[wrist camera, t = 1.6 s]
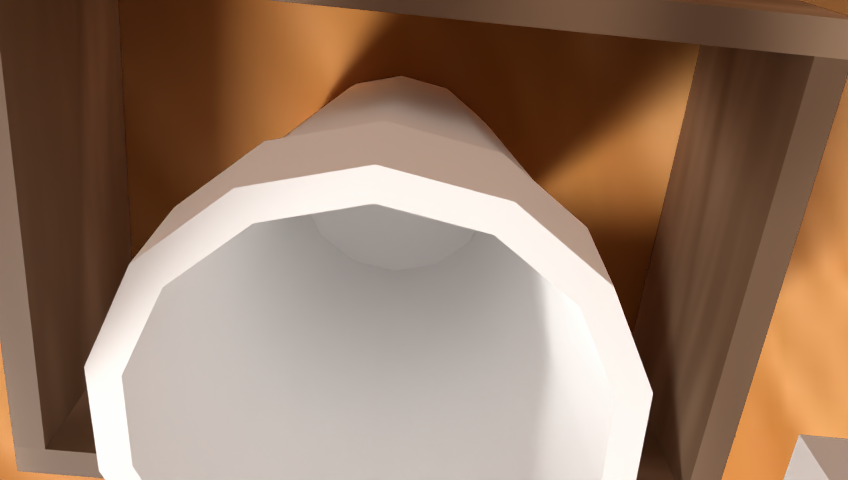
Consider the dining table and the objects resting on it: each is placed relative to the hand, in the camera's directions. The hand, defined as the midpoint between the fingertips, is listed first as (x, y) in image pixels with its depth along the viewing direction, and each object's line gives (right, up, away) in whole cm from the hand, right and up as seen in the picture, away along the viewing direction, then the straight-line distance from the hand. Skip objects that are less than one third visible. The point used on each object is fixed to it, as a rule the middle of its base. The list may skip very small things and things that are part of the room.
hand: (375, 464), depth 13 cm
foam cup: (0, +6, +13) cm, 14 cm away
